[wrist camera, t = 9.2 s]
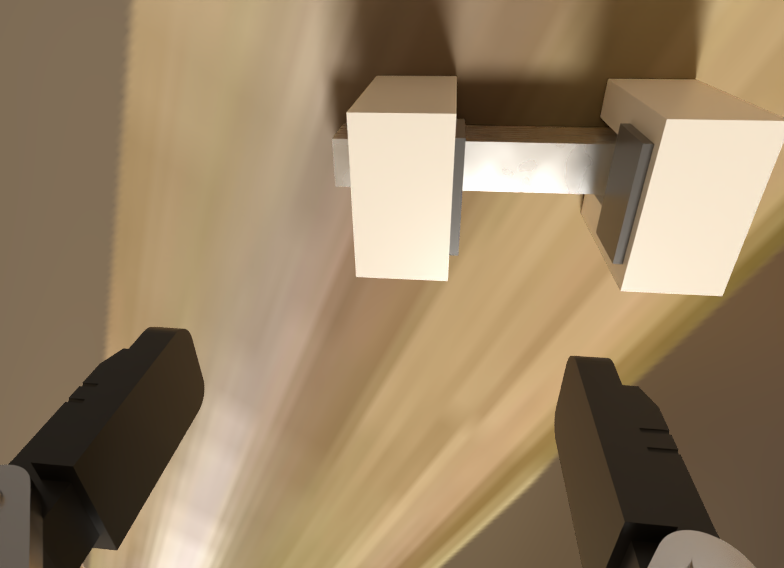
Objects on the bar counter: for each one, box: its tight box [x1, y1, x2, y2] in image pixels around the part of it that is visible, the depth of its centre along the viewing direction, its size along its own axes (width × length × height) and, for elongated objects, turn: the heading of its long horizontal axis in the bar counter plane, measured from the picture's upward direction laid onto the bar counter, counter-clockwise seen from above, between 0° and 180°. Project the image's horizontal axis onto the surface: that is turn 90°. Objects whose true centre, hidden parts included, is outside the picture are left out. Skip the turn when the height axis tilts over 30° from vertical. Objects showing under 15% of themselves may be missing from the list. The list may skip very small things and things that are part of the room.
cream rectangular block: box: [346, 76, 466, 281], centre depth 23 cm, size 7×4×8 cm, turn 0°
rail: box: [332, 123, 618, 195], centre depth 25 cm, size 2×17×3 cm, turn 90°
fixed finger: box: [581, 79, 784, 296], centre depth 22 cm, size 7×4×8 cm, turn 0°
